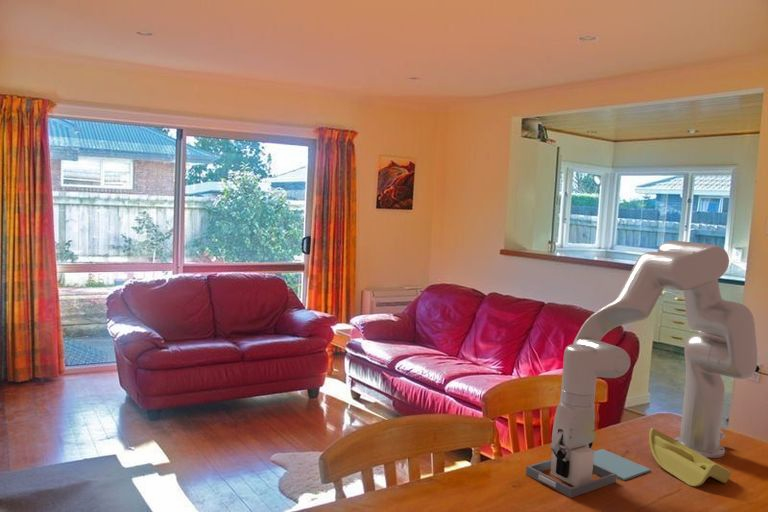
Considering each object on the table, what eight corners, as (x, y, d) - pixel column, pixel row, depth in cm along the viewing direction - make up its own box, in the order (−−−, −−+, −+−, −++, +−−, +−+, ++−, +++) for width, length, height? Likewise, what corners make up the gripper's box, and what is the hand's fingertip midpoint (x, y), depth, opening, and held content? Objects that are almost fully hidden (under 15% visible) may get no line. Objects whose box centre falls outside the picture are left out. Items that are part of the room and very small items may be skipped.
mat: (602, 450, 166) (602, 448, 166) (650, 471, 154) (650, 469, 154) (575, 458, 159) (575, 456, 159) (623, 480, 148) (623, 478, 148)
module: (564, 469, 152) (566, 438, 152) (591, 483, 146) (594, 450, 145) (550, 474, 149) (552, 441, 149) (577, 487, 143) (580, 454, 142)
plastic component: (735, 474, 149) (711, 461, 145) (721, 502, 149) (696, 489, 145) (671, 437, 167) (647, 425, 163) (658, 462, 167) (634, 450, 163)
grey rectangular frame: (570, 461, 158) (571, 453, 157) (615, 482, 147) (616, 474, 147) (524, 474, 148) (525, 466, 148) (569, 498, 137) (570, 489, 137)
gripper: (587, 389, 154) (581, 459, 155) (539, 398, 144) (533, 474, 146) (613, 397, 148) (607, 471, 149) (565, 408, 138) (559, 487, 140)
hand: (571, 471), depth 147 cm, fingers open, 5 cm apart
